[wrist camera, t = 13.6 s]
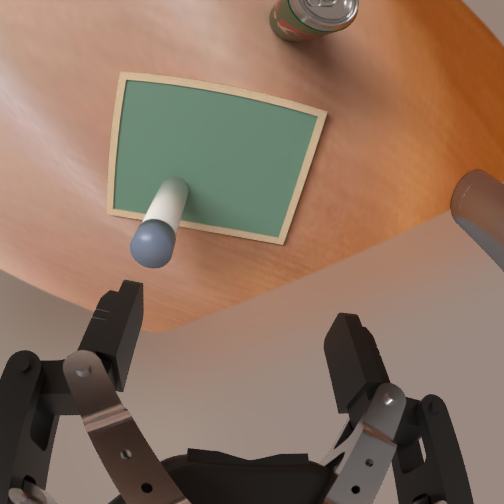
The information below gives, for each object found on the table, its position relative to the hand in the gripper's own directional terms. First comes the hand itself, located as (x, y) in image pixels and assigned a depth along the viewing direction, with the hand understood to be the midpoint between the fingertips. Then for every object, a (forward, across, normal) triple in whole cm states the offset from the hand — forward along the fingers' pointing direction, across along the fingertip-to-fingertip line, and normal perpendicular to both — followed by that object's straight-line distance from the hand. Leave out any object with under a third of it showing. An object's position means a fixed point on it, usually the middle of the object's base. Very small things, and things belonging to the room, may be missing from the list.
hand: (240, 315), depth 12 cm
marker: (+23, +6, +5) cm, 24 cm away
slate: (+24, +3, +1) cm, 24 cm away
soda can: (+24, -2, -16) cm, 29 cm away
